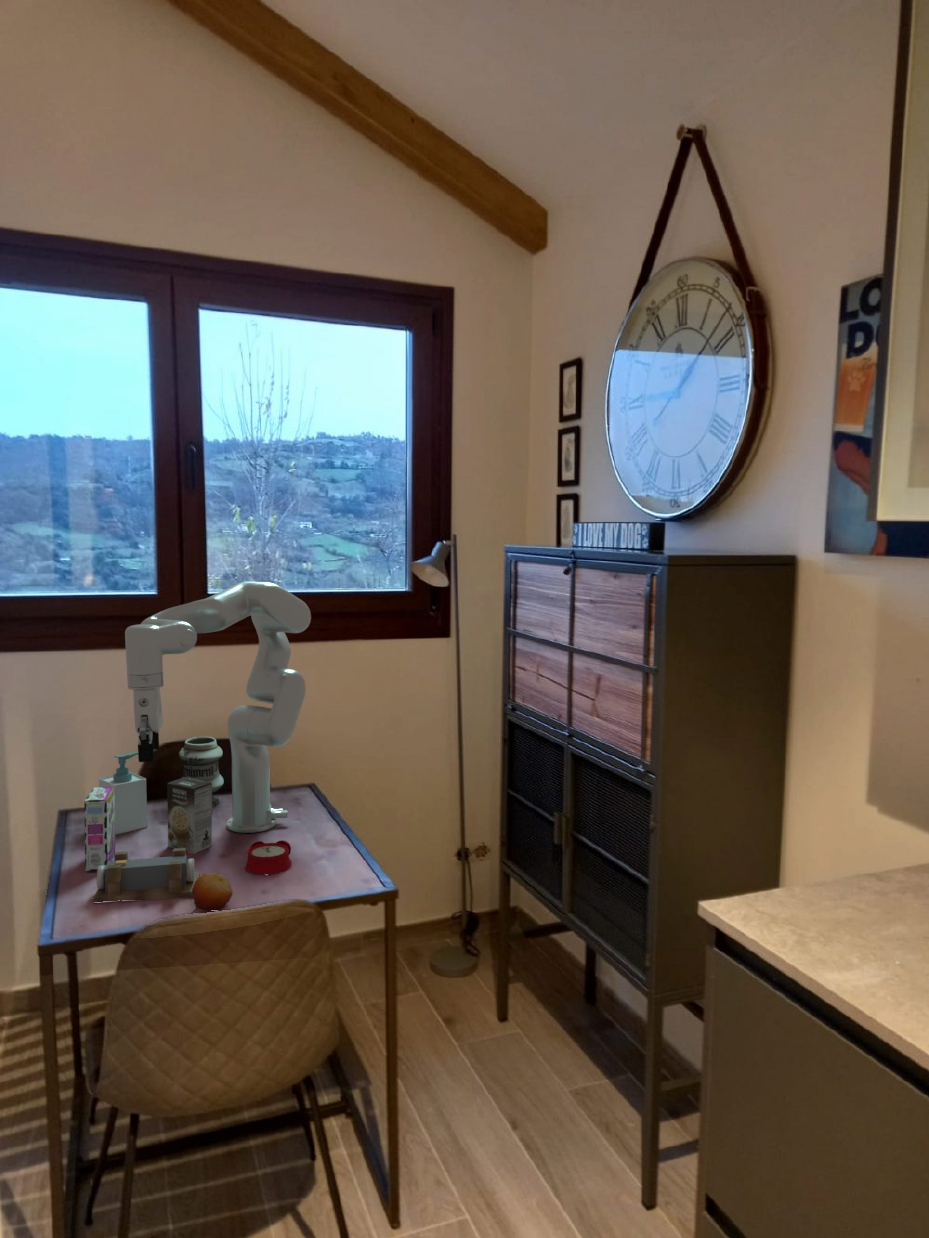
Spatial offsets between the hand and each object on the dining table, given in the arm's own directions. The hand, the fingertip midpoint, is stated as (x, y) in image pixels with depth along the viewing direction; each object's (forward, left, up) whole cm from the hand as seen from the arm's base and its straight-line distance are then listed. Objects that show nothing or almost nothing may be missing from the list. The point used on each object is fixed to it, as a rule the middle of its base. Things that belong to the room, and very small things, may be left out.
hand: (149, 755), depth 192 cm
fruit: (-15, +24, -26) cm, 39 cm away
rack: (-1, +13, -26) cm, 29 cm away
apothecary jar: (-7, -47, -26) cm, 54 cm away
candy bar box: (+12, -5, -26) cm, 29 cm away
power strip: (-1, +13, -25) cm, 28 cm away
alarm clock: (-26, +2, -27) cm, 37 cm away
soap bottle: (+11, -29, -26) cm, 41 cm away
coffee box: (-7, -12, -26) cm, 30 cm away
